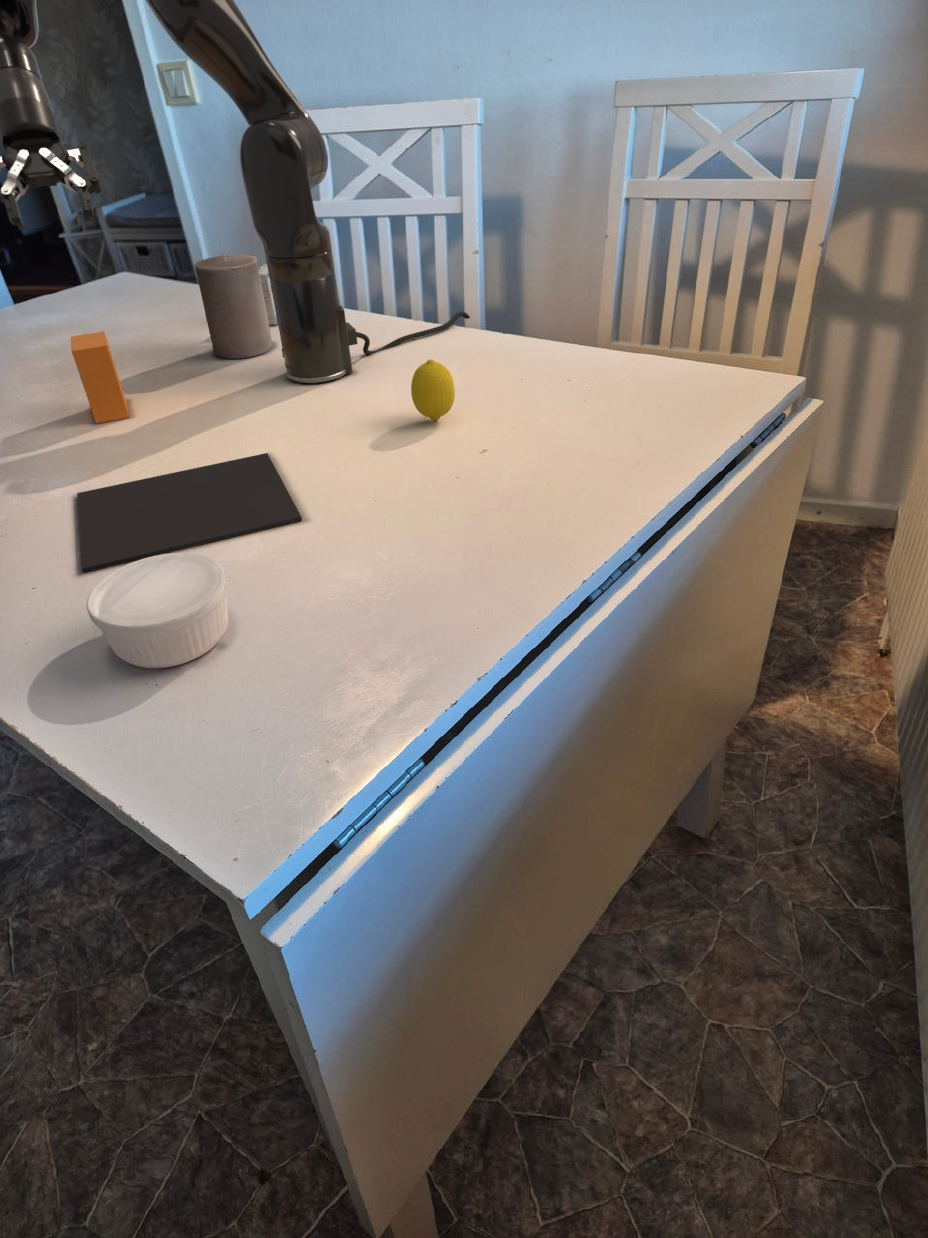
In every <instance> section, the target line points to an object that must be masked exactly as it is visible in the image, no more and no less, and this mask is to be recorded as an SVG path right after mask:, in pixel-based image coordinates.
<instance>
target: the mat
mask: <svg viewBox="0 0 928 1238" xmlns="http://www.w3.org/2000/svg"><path fill="white" fill-rule="evenodd" d="M76 495H77V513H78V530H79V548H80V549H79V550H80V564H81V565H80V566H81V571H82V573H88V572H92V571H97V570H100V569H105V568H109V567H113V566H117V565H121V564H125V563H129V562H130V563H131V562H135V561H138V560H141V559H145V558H148V557H152V556H157V555H162V554H169V553H173V552H175V551H179V550H185V549H188V548H193V547H196V546H201V545H206V544H210V543H213V542H218V541H222V540H226V539H231V538H235V537H239V536H243V535H247V534H252V533H256V532H260V531H264V530H268V529H272V528H276V527H281V526H286V525H289V524H293V523H297V522H302V521H303V517H302V515H301V513H300V511H299V509H298V508H297V506H296V504H295V502H294V500H293V498H292V497H291V494H290V492H289V490H288V489H287V487H286V485H285V483H284V481H283V480H282V477H281V476H280V473H279V472H278V470H277V468H276V467H275V464H274V463H273V461H272V459H271V457H270V455H269V453H268V452H265V453H260V454H255V455H251V456H247V457H246V456H245V457H242V458H236V459H232V460H226V461H223V462H218V463H212V464H208V465H204V466H198V467H194V468H190V469H185V470H179V471H174V472H170V473H166V474H165V473H164V474H161V475H156V476H152V477H146V478H142V479H138V480H133V481H128V482H122V483H117V484H114V485H109V486H104V487H98V488H94V489H90V490H84V491H81V492H77V494H76Z"/></svg>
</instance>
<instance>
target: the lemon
mask: <svg viewBox="0 0 928 1238" xmlns="http://www.w3.org/2000/svg"><path fill="white" fill-rule="evenodd" d="M412 375H413V376H412V378H411V385H410V393H411V400H412V403H413V405H414V407H415V409H416V410H417V411H418V413H419V414H421V415H422V416H424V417H426V418H429V419H430V420H432V422H437V421H438V420H440V418H441V417H444V416H446V415H447V414H448V413H449V412H450V411H451V409H452V407H453V405H454V403H455V395H456V389H455V383H454V380H453V376H452V374H451V372H450V370H449V369H448V368H447V367H446V366H445V365H444V364H442V363H440V362H438V361H435V360H434V359H427V361H426V362H424V363H422V364H421V365H419V366H418V367H417V368H416V370H415V371H414V373H413V374H412Z"/></svg>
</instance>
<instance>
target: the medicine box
mask: <svg viewBox="0 0 928 1238" xmlns="http://www.w3.org/2000/svg"><path fill="white" fill-rule="evenodd" d="M258 268H259V274H260V279H261V285H262V290H263V295H264V300H265V306H266V311H267V316H268V322H269V326H278V321H277V316H276V310H275V305H274V300H273V294H272V289H271V283H270V277H269V273H268V267H267V263H264V264H263V263H262V264H261V265H258Z"/></svg>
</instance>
